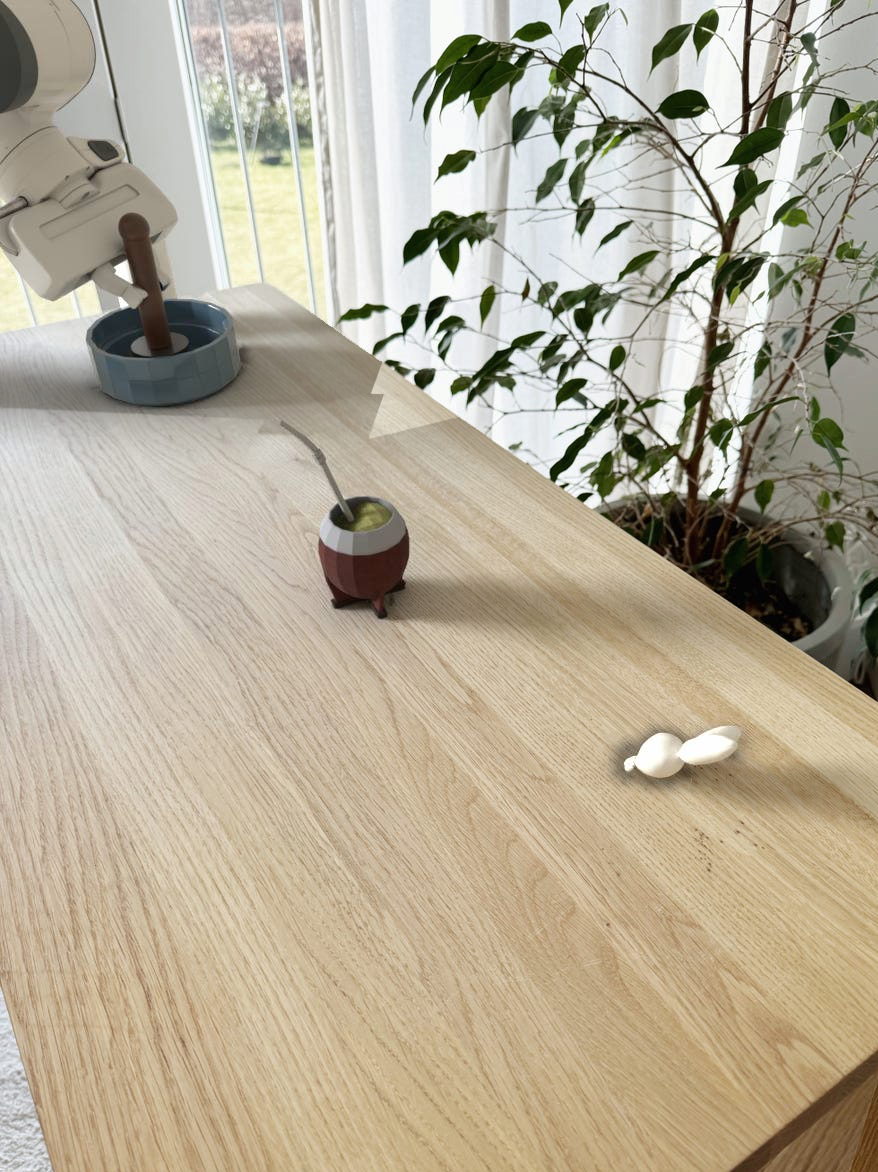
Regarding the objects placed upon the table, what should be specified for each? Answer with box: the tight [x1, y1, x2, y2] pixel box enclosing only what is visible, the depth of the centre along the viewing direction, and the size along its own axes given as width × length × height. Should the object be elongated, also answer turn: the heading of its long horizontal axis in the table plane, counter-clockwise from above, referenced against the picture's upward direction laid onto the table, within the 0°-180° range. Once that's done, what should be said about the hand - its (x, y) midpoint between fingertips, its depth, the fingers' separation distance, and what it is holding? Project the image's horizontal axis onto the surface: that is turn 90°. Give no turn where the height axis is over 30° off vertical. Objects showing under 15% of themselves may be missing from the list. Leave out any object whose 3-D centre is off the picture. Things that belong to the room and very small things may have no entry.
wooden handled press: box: [118, 212, 191, 358], centre depth 103 cm, size 6×6×16 cm
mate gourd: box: [279, 420, 410, 620], centre depth 77 cm, size 8×8×15 cm
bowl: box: [85, 298, 242, 407], centre depth 109 cm, size 15×15×6 cm
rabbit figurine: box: [623, 725, 743, 779], centre depth 66 cm, size 6×4×8 cm
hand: (153, 295), depth 103 cm, fingers closed on wooden handled press, 2 cm apart
